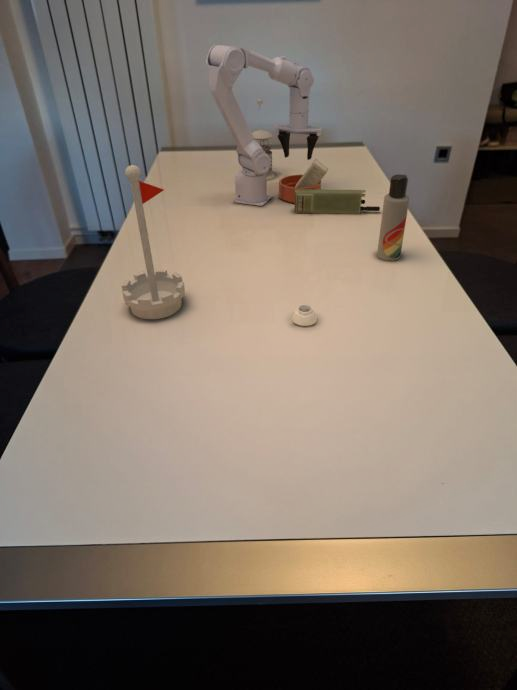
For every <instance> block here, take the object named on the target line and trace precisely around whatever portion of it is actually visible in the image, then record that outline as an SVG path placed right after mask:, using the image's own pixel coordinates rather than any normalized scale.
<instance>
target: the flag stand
mask: <svg viewBox="0 0 517 690" xmlns="http://www.w3.org/2000/svg"><path fill="white" fill-rule="evenodd" d="M124 175H125V178H126V179H127V180H128V181H129V182H130V187H131V193H132V198H133V203H134V207H135V214H136V219H137V225H138V230H139V236H140V242H141V247H142V252H143V258H144V264H145V269H146V272H145V271H140V272H137V273H134V274H133V279H132V280H128V279H124V282H122V285H121V289H122V297H123V298H122V299H123V301H124V302H125V304H126V305H127V306H129V307H130V311H131V313H132V314H133V315H134V316H135V317H137V318H139V319H144V320H160V319H164V318H168V317H170V316H172V315H174V314H175V313H177V312H178V311H179V310H180V308H182V304H183V301H182V299H183V297H184V296H185V293H186V288H185V282H184V281H183V277H182V275H181V274H180V273H178V272H174V273H172V274H168V270H167V269H155V267H154V262H153V256H152V250H151V244H150V239H149V231H148V227H147V221H146V220H147V219H146V215H145V209H144V204H145V203H147V202H148V201H150V200H151V199H153V198H154V197H156V196H158V195H159V194H160V193H162V192H164V191H165V189H164V188H160V187H158V186H155V185H152V184H149V183H146V182H143V181H141V178H142V170H141V168H139V166H137V165H136V164H135V165H134V164H131V165H128V166H127V167H126V168H125V171H124Z"/></svg>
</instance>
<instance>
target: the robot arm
mask: <svg viewBox="0 0 517 690" xmlns="http://www.w3.org/2000/svg"><path fill="white" fill-rule="evenodd" d="M207 53H208V54H207V56H206V60H205V64H206V67H207V70H208V84H209V91H210V95H211V97H212V99H213V100H214V102H215V104H216V106H217V108H218V110H219V112H220V114H221V116H222V118H223V120H224V122H225V124H226V126H227V128H228V130H229V132H230V134H231V137H232V138H233V140H234V142H235V144H236V146H237V147H236V149H235V152H236V154H237V161H238V164H239V166H240V167H241V169H242V170H238V171H237V173H236V174H235V178H234V190H235V191H234V192H235V200H234V203H235V204H243V205H250V206H257V207H263V206H264V205H265V204H267V202H269V201H270V200H271V199H272V196H271V195H268V189H267V187H268V186H267V181H268V180H266V174H267V171H268V170H269V168H270V165H271V159H270V157H269V155H268V154H266V153H265V152H264V151H263V149H262V147H261V146H260V144H259V142H258V141H257V140H255V139H254V137H253V135H252V133H253V132H252V131H251V128H250V127H249V124H248V122H247V119H246V117H245V116H244V114H243V112H242V109H241V107H240V105H239V103H238V101H237V98H236V96H235V94H234V92H233V86H234V84H235V83H236V81H237V79H238V78H239V77H240V75H241V73H242V71H243V70H244V69H247V68H249V67H251V68H254V69H257V70H260V71H263V72H267V74H268V76H269V79H271V80H273V81H276V82H277V83H281V84H284V85H286V86H288V88H289V114H288V115H289V117H288V118H289V120H288V121H289V124H277V125H275V133H276V134H278V135H277V138H278V140H279V143H280V145H281V148H282V150H283V156H284V158H288V157H290V139H291V134H294V135H295V134H297V135H307V137H306V143H307V153H306V158H307V159H306V160H307V161H308V160H309V161H310V160H311V159H312V156H313V152H314V150H315V146H316V144H317V141H318V140H319V138H320V137H321V136H322V134H323V128H322V127H317V126H310V125H309V104H310V103H309V102H310V94H311V88H312V85H313V84H314V80H315V77H314V76H313V73H312V71H311V69H310V68H308V67H306V66H299V62H296V61H294V62H292V61H289V60H287V57H286V56H284V55H280V56H275V57H274V58H272V59H270V58H269V57H266V56H265V55H262V54H260V53H258V52H256V51H253V50H251V49H249V48H243V47H239V46H235V45H233V46H232V45H223V44H222V43H215V44H214V45H212V46H211V47H210V49H209V51H208V52H207Z"/></svg>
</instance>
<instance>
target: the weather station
mask: <svg viewBox="0 0 517 690" xmlns="http://www.w3.org/2000/svg"><path fill="white" fill-rule="evenodd" d="M256 104H258V105H259V107H258V108H259V109H261V104H263V100H262V99H261V98H259V99H257V100H256ZM251 133H252V135H253V137H254V139H255V141H259V143H260V144H259V145H260V146H261V147H262V149H263V151H264V152H265V153H266V154H268V155H269V157H270V159H271V165H270V168H269V170H268V171H267V174H266V180H267V181H269V180H272V179H274V178H275V177H276V175H275V173H274V172H273V152H272V150H271V149H272V147H271V146H270V145H269V143H270V142H269V140H270V139H272V137H273V134H272V133H271V132H269V131H266V130H265V129H264V130H263V129H261V124H259V130H255V131H253V132H251ZM265 142H267V144H265ZM262 143H263V144H262Z"/></svg>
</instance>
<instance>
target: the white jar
mask: <svg viewBox="0 0 517 690" xmlns="http://www.w3.org/2000/svg"><path fill="white" fill-rule="evenodd" d="M291 319H292V322H293V323H294V324H295V325H297V326H301V327H305V326H306V327H308V326H312V325H314V324H316V323H317V321H318V315H317V314H316V311H314V309H313V306H312V305H310V304H300V305H298V306H297V308H296V309H295V311H294V313H293V315H292V316H291Z"/></svg>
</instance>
